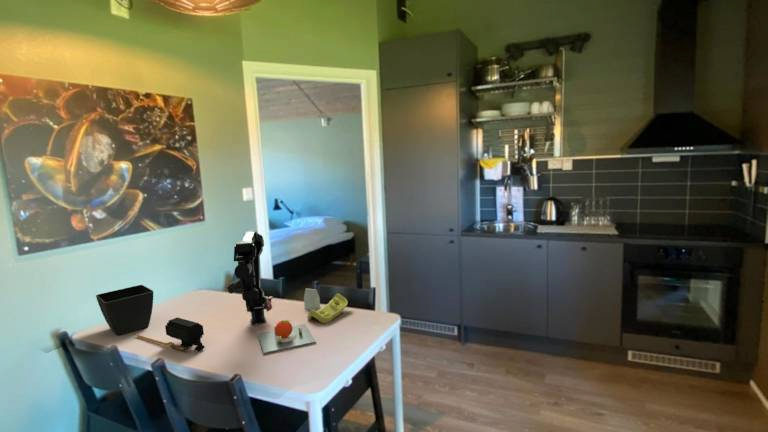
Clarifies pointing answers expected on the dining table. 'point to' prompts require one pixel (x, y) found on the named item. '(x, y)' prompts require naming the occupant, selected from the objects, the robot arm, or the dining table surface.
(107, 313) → the flower pot
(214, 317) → the dining table surface
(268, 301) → the pliers
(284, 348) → the nest plate
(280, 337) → the brass pins
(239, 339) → the dining table surface
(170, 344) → the katana
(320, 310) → the plastic component
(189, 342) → the security camera
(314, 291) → the tea bag
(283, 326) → the clementine
